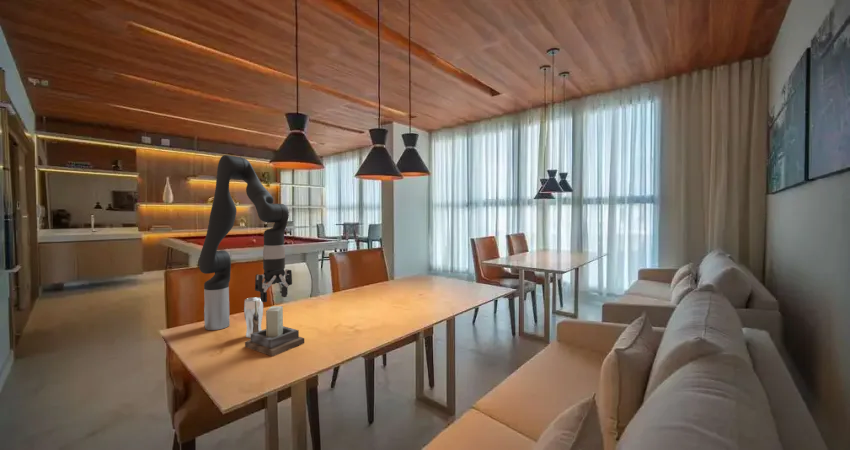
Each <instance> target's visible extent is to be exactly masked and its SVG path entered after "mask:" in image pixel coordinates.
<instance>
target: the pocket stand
mask: <svg viewBox="0 0 850 450" xmlns="http://www.w3.org/2000/svg"><path fill="white" fill-rule="evenodd" d="M299 333H300V332H299V329H296V328H291V327H289V326H284V325H283V334H282V335H280V336H277V337H274V338H270V337H267V336H266V328H265V329H262V330H261V331H258V332H255V333H252V334H251V338H250V340H249V339H248V340H246V341H245V342H244V347H245V348H246V349H250V350H252V351H255V352H258V353H262V354H265V355H268V356H270V357H274V356H276V355H279V354H282V353H285V352H288V351H289V350H291V349H294V348H297V347H298V346H301V345H303V344H305V337H301V336H300V335H299Z"/></svg>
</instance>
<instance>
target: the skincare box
mask: <svg viewBox="0 0 850 450" xmlns="http://www.w3.org/2000/svg"><path fill="white" fill-rule="evenodd" d="M283 307H284V306H283V305H282V306H279V305H278V306H274V305H273V306H271V307H269V308H268V309H267V310H266V312H265V313H266V314H265V319H266V321H265V322H266V323H265V326H266V327H265V329H266V336H267V337H270V338H274V337H277V336H280V335H282V334H283V326H284V314H283V313H284V312H283V311H284V308H283Z"/></svg>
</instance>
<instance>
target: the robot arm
mask: <svg viewBox="0 0 850 450" xmlns="http://www.w3.org/2000/svg"><path fill="white" fill-rule="evenodd" d="M218 160H219V161H218V165H217V172H216V182H215V190H214V194H213V195H214V196H213V200H212V206H211V210H210V215H209V218H208V227H207V230H206V235H205V238H204V241H203V244H202V247H201V251H200V254H199V257H198V268H199V271H200V272H201V273H203V274H205V275H207V274H214V275H213V276H212V277H211V278H210V279H208V280H206V281H205V282H204V283H203V287H204V288H203V290H204V291H203V293H204V294H203V295H204V298H203V299H204V305H203V310H204V311H203V317H204V329H205V330H207V331H216V330H217V331H218V330H223V329H225V328H228V327H229V326H230V324H231V323H230V281H231V271H232V270H231V269H232V260H231V255H230V254H229V252H228V251H227V250H218V247H219V245H220V244H221V243H222V241H223V240H224V238H226V236H227V235H228V234H229V233H230V232H231V230H232V229H233V227H234V225H235V221H236V216H237V206H236V204H235V202H234V200H233V198H232V196H231V192H230V181H231V180H242V181H243V182H244V183H246V188H245V189H246V190H245V192H246V195H247V197H248V199H249V201H251V202H252V204H253V205H254V207H255V211H256V212H257V213H256V214H257V217H258V218H259V219H260V221H262V222H264V223H274V224H273V227H270V228H267V229H265V230H264V232H263V250H262V269H263V273H262V274H256V275H255V279H254V280H255V281H254V283H255V284H254V291H256V292H258V293H259V292H260V295H259V297H260V299H261V301H262V302H263V303H267V301H268V293H267V291H268V289H269V288H270V287H271V286H272V285H275V284H280V286H281V289H280V290H281V292H280V293H281V295H280V297H282V298H287V297H288V296H287V295H288V290H289V289H288V287H289V286H292V284H293V276H292V275H293V274H292V270H291V269H285V268H286V250H285V249H286V247H285V232H286V229H287V226H288V225H287V224H288V221H289V217H290V211H289V209H288V207H287V205H286V204H284V203H274V197H273V195H272V194H271V193H270V192H269V191H268V190H267V189H266V187H265V186H264V185H263V184H262V183H261V180H260V179H259V177H258V175H257V173H256V171H255V169H254V167H253V165H252V163H251V162H250V161H249V160H248V159H247V158H245V157H240V156H235V155H227V154H223V155H222V156H221V157H220V159H218Z"/></svg>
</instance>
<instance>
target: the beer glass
mask: <svg viewBox="0 0 850 450" xmlns="http://www.w3.org/2000/svg"><path fill="white" fill-rule="evenodd" d="M243 306H244V307H243V312H244V320H245V324H246V333H245V338H248V339H251V334H252V333H255V332H258V331H261V330H263V329H262V320H263V315H264V302H262V301H261V299H260V296H259V297H257V296H256V297H248V298H246V299H244V304H243Z"/></svg>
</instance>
